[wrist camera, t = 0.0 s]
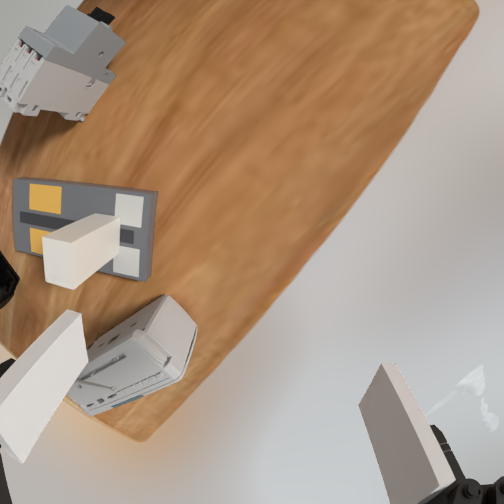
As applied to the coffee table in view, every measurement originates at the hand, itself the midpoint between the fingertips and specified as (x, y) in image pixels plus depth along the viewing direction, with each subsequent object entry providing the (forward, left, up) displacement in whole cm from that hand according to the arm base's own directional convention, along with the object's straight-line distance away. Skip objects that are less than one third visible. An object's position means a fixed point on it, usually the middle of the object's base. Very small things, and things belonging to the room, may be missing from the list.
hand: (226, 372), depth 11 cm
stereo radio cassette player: (+21, -14, -28) cm, 38 cm away
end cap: (+17, -46, -28) cm, 57 cm away
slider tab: (+4, -18, -25) cm, 31 cm away
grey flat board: (+4, -25, -28) cm, 38 cm away
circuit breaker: (-19, -25, -28) cm, 42 cm away
